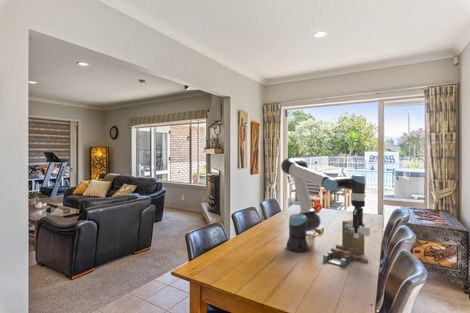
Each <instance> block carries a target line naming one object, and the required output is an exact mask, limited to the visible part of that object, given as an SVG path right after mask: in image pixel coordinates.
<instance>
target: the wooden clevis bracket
mask: <svg viewBox="0 0 470 313" xmlns="http://www.w3.org/2000/svg"><path fill="white" fill-rule="evenodd" d="M330 251H331V252H333V257H335V258H339V259H342V258H344V256H345V255H348V256H350V262H351V261H352V260H353V261H357V262H361V263H364V264H368V263H369V258H368V257H363V256H359V255H357V254H356V248H351V247H347V246H342V244H335V248H334V247H331V248H330Z"/></svg>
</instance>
